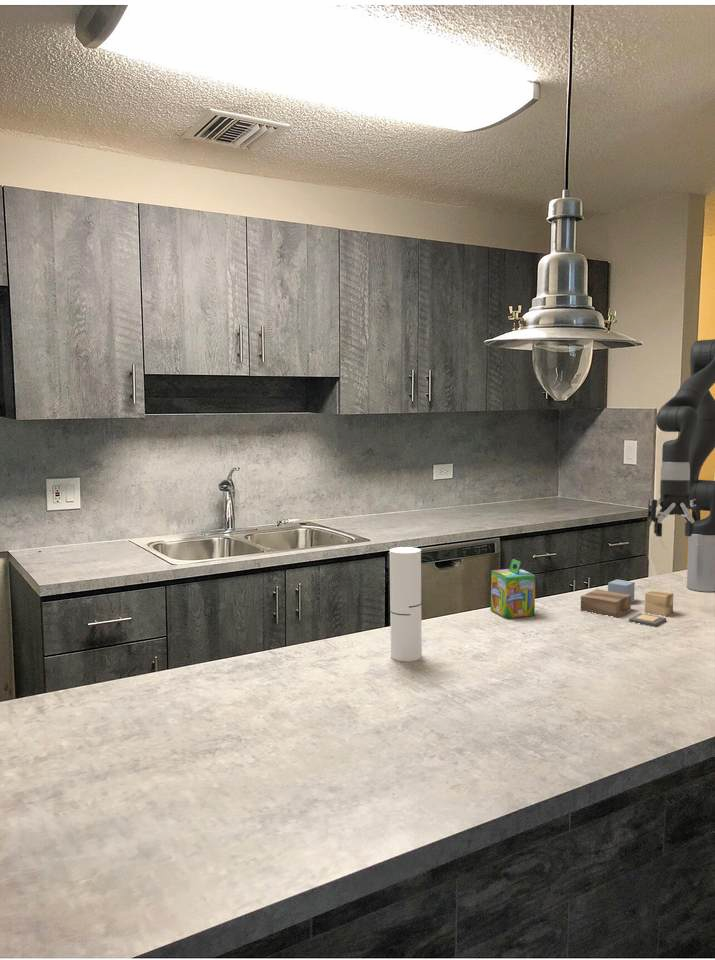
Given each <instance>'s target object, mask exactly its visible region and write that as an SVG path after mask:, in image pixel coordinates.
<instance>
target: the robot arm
mask: <svg viewBox="0 0 715 960" xmlns="http://www.w3.org/2000/svg"><path fill="white" fill-rule="evenodd" d="M689 356H690V357H689V360H690V361H689V363H690V369H689V370H690V377H688V378H687V379H686V380H684V381H683V382H682V384H681V386H680V387H679V389H678V390H677V392H676V394H675V395H674V396H673V397H671V398H670V399H669V400H668V401H667V402H666V403H664V404H663V405H662V406H661V407H660V409H659V410H658V411H657V414H656V417H655V418H656V419H655V422H656V426H657V428H658V429H659V430H660V431H662V432H665V433H674V432H675V433H678V432H679V434H678V436H677V438H674V439H671V440H667V441H664V442H663V443H662V449H661V450H662V453H661V456H662V457H661V467H660V482H659V483H660V484H659V485H660V486H659V487H660V488H659V491H660V493H659V495H660V498H659V499H654V498H650V499H649V500H648V505H647V507H648V508H647V516H646V519H647V520H648V521H651V522H653V533H654V535H655V536H656V537H658V538H661V537H663V523H662V522H663V521H664V519H665V518H667V516H669V515H670V516H673V515H677V516H681V517H682V518H683V519H684V520H685V523H684V536H686V537H687V538H688V539H687V540H688V541H687V568H686V569H687V571H686V587H687V589H690V590H692V591H696V592H704V593H707V592H715V480H709V479H707V480H706V479H700V473H701V470H702V467H703V465H704V463H705V462H706V460H707V459H708V457H709V456H710V455H711V454H712V452H714V450H715V398H714V396H713V395H712V393H711V391H710V389H711V388H712V387H713V385H715V338H714V339H700V340H696V341H694V342H693V344H692V345H691V348H690V355H689ZM658 506H660V507H661V508H660V509H659V510H658V512H657V507H658ZM689 510H691V511H689ZM701 511H704V512H709V515H707V516H706V517H704V518H702V519H701Z"/></svg>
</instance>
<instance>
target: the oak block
mask: <svg viewBox="0 0 715 960" xmlns="http://www.w3.org/2000/svg"><path fill="white" fill-rule="evenodd" d="M644 595H645V596H644V614H648V613H650V614H649V615H653V614H655V615H654V616H658V615H661V616H660V617H664V616H665V617H667V616H669V615H670V614H672V612H674V592H670V591H663V590H657V589H652V590H650V591H648V592H646V593H645V594H644Z"/></svg>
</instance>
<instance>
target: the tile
mask: <svg viewBox="0 0 715 960" xmlns="http://www.w3.org/2000/svg"><path fill="white" fill-rule="evenodd" d="M629 621H630V622H629ZM666 621H667V617H664V616H658V615H653V614H648V613H642V612H639V613H638V614H635V615H634V616H632V617H630V618H628V622H629V623H632V622H635V623H634V624H638V623H640V624H639V625H643V624H645V625H644V626H648V625H649V626H650V627H653V626H654V628H656V627H658V626H659V624H660V625H662V624H663V623H665V622H666ZM661 623H662V624H661Z"/></svg>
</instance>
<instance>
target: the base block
mask: <svg viewBox="0 0 715 960" xmlns="http://www.w3.org/2000/svg"><path fill="white" fill-rule="evenodd" d="M630 609H632V602H631V595H629V594H623V593H617V592H611V591H608V590H604V589H599V588H598V589H594V590H592V591H590V592H587V593H585V594H582V595H581V596H580V612H583V611H587V612H586V613H588V612H591V613H590V614H594V613H596V614H595V615H599V614H602V615H601V616H604V615H608V616H607V617H610V616H613V617H612V618H615V617H616V618H617V616H618V617H619V616H621V615H623V614H625V613H627V612H629V611H631V610H630ZM628 610H629V611H628ZM626 611H627V612H626ZM592 612H593V613H592ZM624 612H625V613H624ZM622 613H623V614H622ZM620 614H621V615H620Z"/></svg>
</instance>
